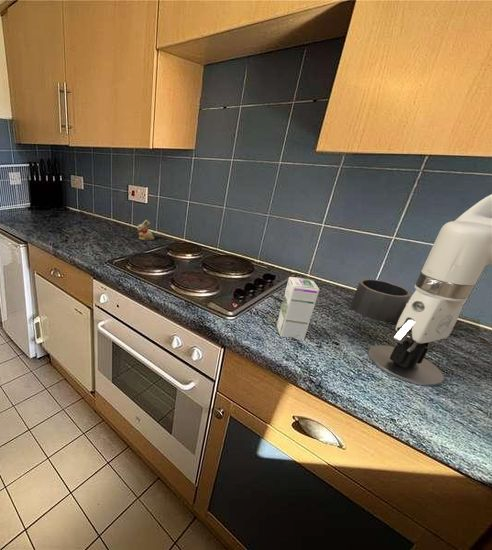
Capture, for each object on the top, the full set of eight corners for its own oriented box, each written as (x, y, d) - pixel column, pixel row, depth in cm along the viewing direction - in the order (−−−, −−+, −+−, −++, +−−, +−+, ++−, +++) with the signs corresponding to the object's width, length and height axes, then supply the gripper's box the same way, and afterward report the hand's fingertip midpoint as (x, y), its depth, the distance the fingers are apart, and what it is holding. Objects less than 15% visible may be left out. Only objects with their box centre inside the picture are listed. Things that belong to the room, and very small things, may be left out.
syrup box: (304, 341, 74) (322, 289, 68) (278, 337, 75) (293, 285, 70) (299, 329, 79) (314, 279, 73) (274, 325, 81) (288, 275, 75)
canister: (355, 300, 96) (365, 275, 93) (401, 314, 88) (413, 288, 85) (345, 311, 89) (355, 285, 85) (394, 328, 81) (407, 300, 78)
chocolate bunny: (141, 236, 154) (142, 216, 150) (155, 239, 150) (156, 219, 146) (135, 238, 149) (136, 218, 145) (149, 241, 145) (150, 221, 141)
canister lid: (373, 342, 75) (383, 319, 72) (443, 369, 66) (457, 344, 63) (360, 364, 67) (371, 339, 64) (438, 398, 58) (454, 371, 56)
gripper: (438, 300, 53) (397, 381, 60) (494, 289, 58) (449, 365, 65) (392, 282, 59) (360, 357, 67) (446, 274, 64) (410, 344, 72)
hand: (405, 360), depth 66 cm, fingers closed on canister lid, 3 cm apart
